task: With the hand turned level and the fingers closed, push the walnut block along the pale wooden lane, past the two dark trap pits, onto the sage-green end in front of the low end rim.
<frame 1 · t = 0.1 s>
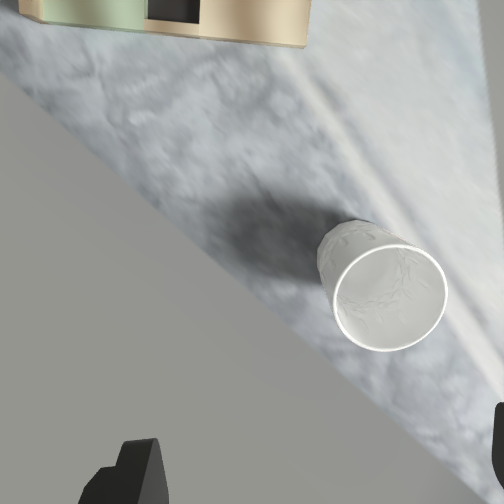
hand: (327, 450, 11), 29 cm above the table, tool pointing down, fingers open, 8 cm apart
white cup: (352, 255, 40), on the table
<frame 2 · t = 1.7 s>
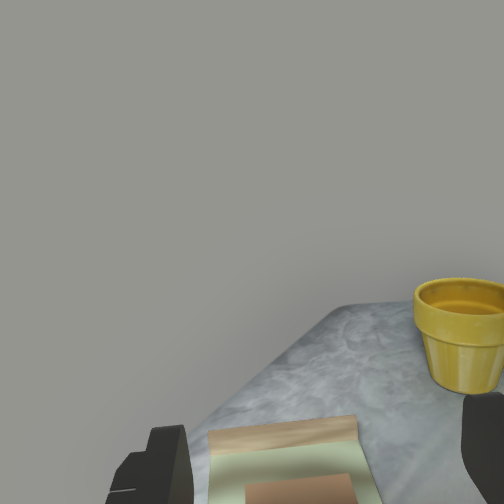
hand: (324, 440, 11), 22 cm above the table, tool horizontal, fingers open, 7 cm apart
plant pot: (463, 378, 49), on the table
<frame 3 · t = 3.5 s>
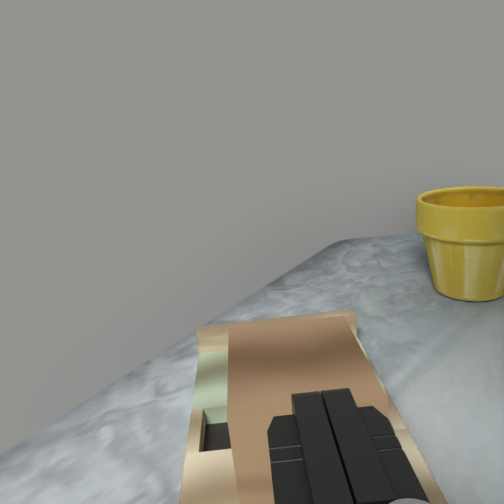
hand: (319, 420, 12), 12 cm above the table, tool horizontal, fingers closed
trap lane: (294, 437, 29), on the table
plant pot: (468, 290, 47), on the table
walnut block: (307, 497, 23), point 1 cm above the table, touching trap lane
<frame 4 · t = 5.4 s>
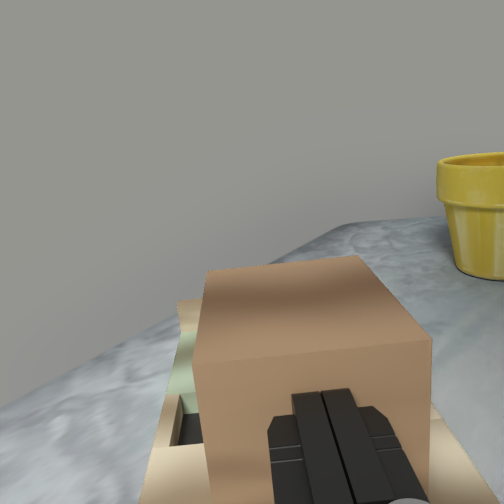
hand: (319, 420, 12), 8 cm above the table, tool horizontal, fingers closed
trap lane: (294, 431, 22), on the table
plant pot: (496, 270, 40), on the table
walnut block: (308, 494, 17), point 2 cm above the table
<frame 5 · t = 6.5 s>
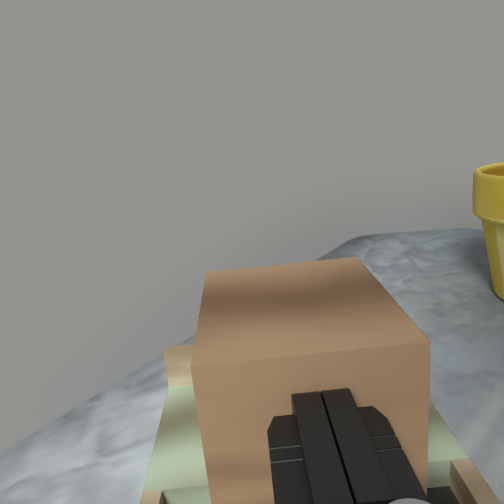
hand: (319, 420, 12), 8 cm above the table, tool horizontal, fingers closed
walnut block: (307, 495, 17), point 2 cm above the table
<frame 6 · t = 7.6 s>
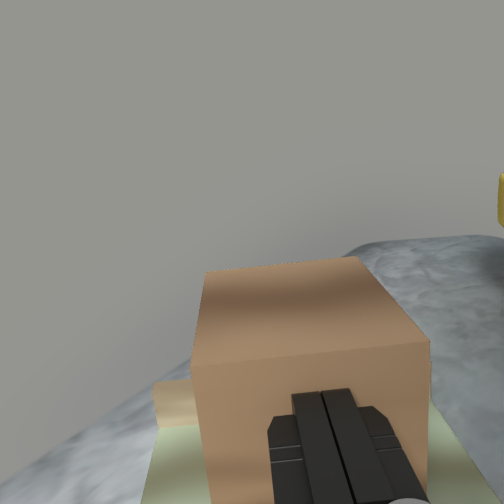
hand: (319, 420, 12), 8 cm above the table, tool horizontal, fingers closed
walnut block: (307, 495, 17), point 2 cm above the table, touching gripper, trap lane
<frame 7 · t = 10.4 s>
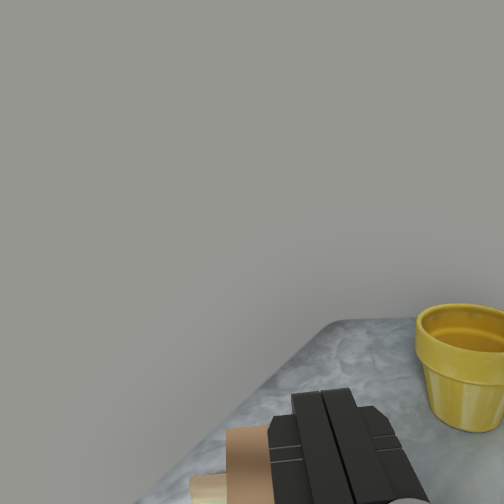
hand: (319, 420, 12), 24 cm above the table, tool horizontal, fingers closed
plant pot: (464, 411, 46), on the table
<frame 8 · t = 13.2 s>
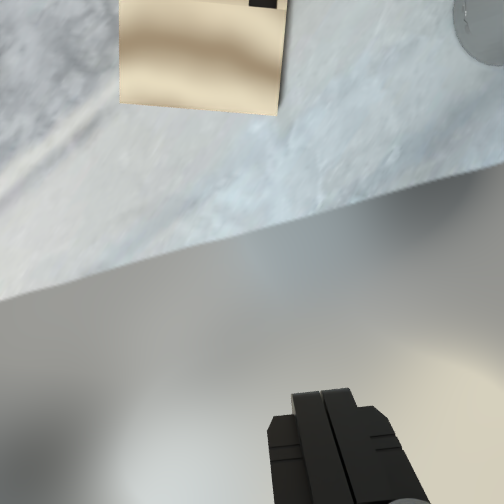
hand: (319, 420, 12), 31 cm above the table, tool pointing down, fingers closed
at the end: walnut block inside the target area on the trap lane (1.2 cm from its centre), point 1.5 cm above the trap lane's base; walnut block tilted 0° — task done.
